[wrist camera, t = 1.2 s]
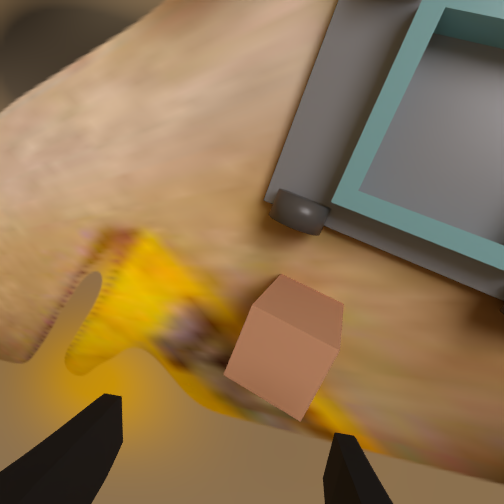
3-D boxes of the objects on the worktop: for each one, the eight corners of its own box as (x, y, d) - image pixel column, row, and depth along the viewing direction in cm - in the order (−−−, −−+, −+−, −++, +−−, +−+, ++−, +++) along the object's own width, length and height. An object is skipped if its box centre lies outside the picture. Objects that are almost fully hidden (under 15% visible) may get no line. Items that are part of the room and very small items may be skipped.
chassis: (832, 35, 10) (1024, -29, 7) (574, 338, 15) (630, 375, 12) (360, -47, 15) (362, -109, 12) (264, 207, 19) (247, 209, 16)
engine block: (343, 303, 18) (339, 350, 13) (315, 357, 20) (300, 421, 14) (280, 273, 19) (252, 304, 14) (258, 326, 21) (223, 374, 15)
